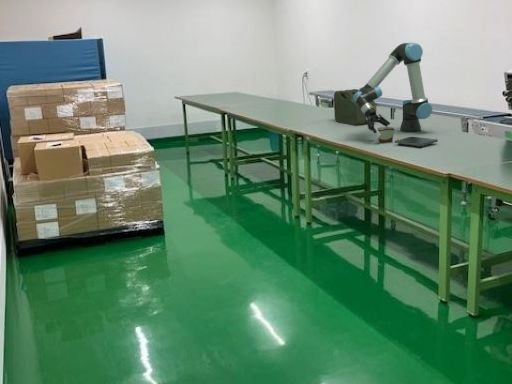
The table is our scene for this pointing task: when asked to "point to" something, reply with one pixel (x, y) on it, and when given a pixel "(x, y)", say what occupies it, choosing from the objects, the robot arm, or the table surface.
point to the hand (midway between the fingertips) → (386, 134)
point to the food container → (385, 134)
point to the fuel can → (349, 108)
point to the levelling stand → (415, 141)
